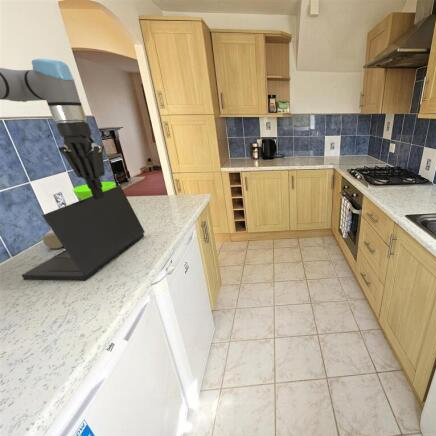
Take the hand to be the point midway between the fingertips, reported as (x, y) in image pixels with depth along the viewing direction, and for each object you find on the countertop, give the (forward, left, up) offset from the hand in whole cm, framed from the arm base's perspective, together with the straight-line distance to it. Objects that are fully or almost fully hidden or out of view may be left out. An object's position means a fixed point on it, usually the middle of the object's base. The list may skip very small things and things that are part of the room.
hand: (99, 197), depth 81 cm
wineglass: (-29, +30, -23) cm, 47 cm away
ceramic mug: (-29, +8, -23) cm, 37 cm away
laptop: (-11, 0, -22) cm, 25 cm away
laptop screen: (-2, 0, -10) cm, 11 cm away
